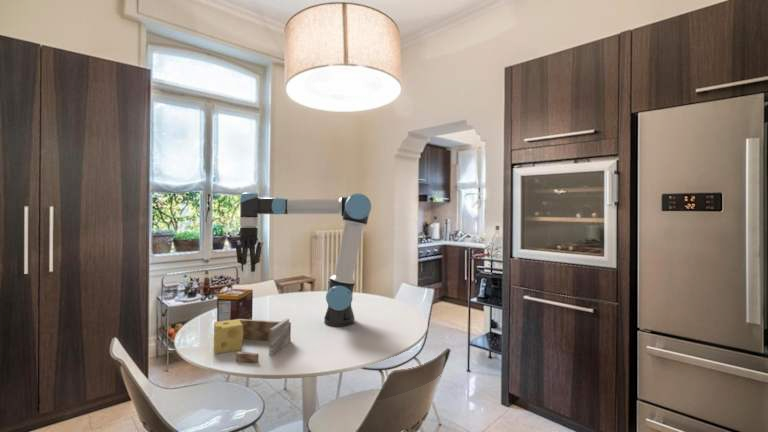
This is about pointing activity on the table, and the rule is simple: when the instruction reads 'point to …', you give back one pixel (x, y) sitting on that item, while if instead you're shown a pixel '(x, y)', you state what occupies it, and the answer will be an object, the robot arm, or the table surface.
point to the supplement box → (235, 305)
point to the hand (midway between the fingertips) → (248, 278)
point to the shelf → (265, 336)
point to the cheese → (228, 336)
